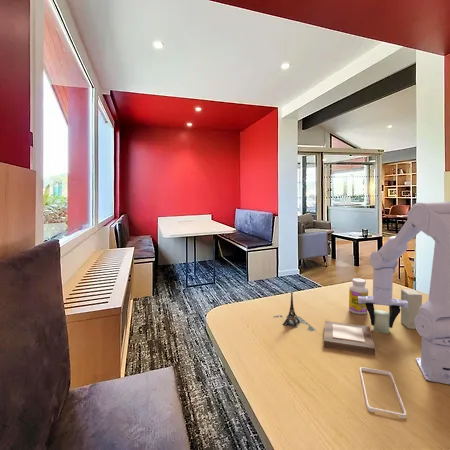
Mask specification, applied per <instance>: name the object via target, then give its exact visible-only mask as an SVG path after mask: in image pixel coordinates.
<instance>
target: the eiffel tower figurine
mask: <svg viewBox="0 0 450 450" xmlns="http://www.w3.org/2000/svg"><path fill="white" fill-rule="evenodd" d="M293 294H294V293H293V291H291V292H290V306H289V312H288V314H287V315H286V319H285V320H284V322H283V323H282V325H283V326H287V327H291V328H295V329H297V328H298V327H299V326H300V325H301V324H304V325H307V326H308V328H307V331H310V332H315V331H317V330H316V329H315V328H314V327H313V326H312V325H311V324H310V323H308V322H307V321H306V320H305V319H303V318H302V317H301V316H298V315H297V314H296V311H295V308H294V298H293V297H294V296H293ZM279 316H280V317H279ZM273 318H283V315H282V314H281V315H273Z"/></svg>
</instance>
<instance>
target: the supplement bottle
mask: <svg viewBox="0 0 450 450" xmlns="http://www.w3.org/2000/svg"><path fill="white" fill-rule="evenodd" d="M351 282H352V284H351V285H349V290H348V291H349V294H348V295H349V299H348V310H349V312H351V313H353V314H356V315H365V314H367V313H368V310H367V308H366V305H365V303H362V304H360V303H358V296H369V288H368V287H367V286H366V283H367V282H366V280H365V279H364V278H360V277H358V278H357V277H356V278H355V277H354V278H352V281H351Z"/></svg>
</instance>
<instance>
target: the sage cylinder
mask: <svg viewBox="0 0 450 450" xmlns="http://www.w3.org/2000/svg"><path fill="white" fill-rule="evenodd" d="M372 326H373V325H372ZM372 329H373V331H375V332H377V333H379V334H388V333H390V329H391V328H390V313H389V312H388V311H385V310H381V309H376V310H375V309H374V326H373V327H372Z"/></svg>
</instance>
